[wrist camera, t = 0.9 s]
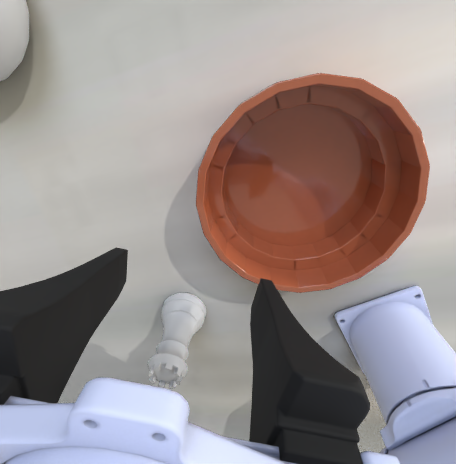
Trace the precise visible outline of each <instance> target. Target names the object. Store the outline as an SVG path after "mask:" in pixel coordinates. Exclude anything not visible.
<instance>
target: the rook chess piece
mask: <svg viewBox="0 0 456 464" xmlns="http://www.w3.org/2000/svg"><path fill="white" fill-rule="evenodd" d="M205 316H206V307H205V305H204V304H203V302H202V301H201V300H200V299H199V298H198V297H196V296H195V295H193V294H190V293H176V294H174V295H171V296H169V297H168V298H167V299H166V300H165V302H164V305H163V309H162V312H161V318H162V323H163V328H164V330H163V335H162V340H161V342H160V343H159V344H158V345H157V347H156V352H157V354H155V355H154V356H152V357H151V358H150V359H149V361H148V364H147V365H148V369H149V371H150V372H149V375H148V376H150V380H149V381H150V382H151V383H152V384H154V383H155V382H156V380H157V381H159V385H158V387H161V388H164V386H165V384H169V389H173V388H175V387H176V384H178V385H179V384H180V382H181V379H182V378H183V377H185V376H186V374H187V372H188V367H187V364H186V362H185V360H186V359H187V358H188V355H189V352H188V346H189V343H190V340H191V338H192V336H193V335H194V334H195V333H196V332H197V331H198V330H199V329H200V328H201V327H202V325H203V322H204V318H205Z"/></svg>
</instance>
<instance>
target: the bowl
mask: <svg viewBox="0 0 456 464" xmlns="http://www.w3.org/2000/svg"><path fill="white" fill-rule="evenodd" d="M429 165H430V164H429V160H428V156H427V152H426V148H425V144H424V140H423V136H422V132H421V130H420V128H419V126H418V125H417V124H416V122H415V121H414V120H413V118H412V117H411V116H410V114H409V113H408V112H407V110H406V109H405V108H404V106H403V105H402V104H401V103H400V101H399V100H398V99H397V98H396V97H394V96H392V95H390V94H388V93H387V92H385V91H383V90H381V89H380V88H378V87H376V86H374V85H373V84H371V83H369V82H367V81H366V80H364V79H361V78H354V77H347V76H339V75H331V74H324V73H317V74H312V75H308V76H303V77H299V78H294V79H290V80H285V81H281V82H277V83H275V84H272V85H270V86H268V87H267V88H265V89H264V90H262V91H260V92H259V93H257V94H255V95H254V96H252V97H250V98H249V99H247V100H245V101H244V102H242V103H241V104H240V105H239V106H238V107H237V108H236V109H235V110H234V112H233V113H232V114H231V115H230V116H229V117H228V119H227V120H226V121H225V122H224V123H223V124H222V126H221V127H220V128H219V129H218V130H217V131H216V133H215V134H214V135H213V137H212V139H211V141H210V143H209V146H208V148H207V151H206V153H205V155H204V158H203V160H202V163H201V165H200V167H199V171H198V181H197V195H196V207H197V210H198V214H199V218H200V222H201V226H202V229H203V233H204V235H205V237H206V238H207V240H208V241H209V243H210V245H211V246H212V248H213V249H214V251H215V252H216V254H217V255H218V257H219V258H220V259H221V260H222V261H223V262H224V263H225V264H227V265H228V266H229V267H230V268H231V269H233V270H234V271H235V272H236V273H238V274H239V275H240V276H241V277H243V278H245V279H247V280H250V281H252V282H254V283H257V284H259V282H260V279H261V278H262V279H267V280H272V282H273V283H274V285H275V287H276V289H277V290H282V291H289V292H297V293H298V292H299V293H301V292H310V291H319V290H328V289H332V288H334V287H337V286H340V285H343V284H345V283H348V282H351V281H353V280H356V279H359V278H361V277H362V276H364V275H365V274H367V273H368V272H370V271H371V270H373V269H374V268H376V267H377V266H379V265H380V264H382V263H383V262H385V261H386V260H387V259H388V258H389V257H390V256H391V255H392V254H393V253H394V252H395V250H396V249H397V248H398V247H399V246H400V245H401V244H402V242H403V241H404V240H405V239H406V238H407V237H408V236H409V235H410V233H411V231H412V229H413V227H414V225H415V223H416V221H417V218H418V216H419V214H420V212H421V210H422V208H423V206H424V204H425V201H426V194H427V185H428V177H429V169H430V166H429Z"/></svg>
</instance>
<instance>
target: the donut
mask: <svg viewBox="0 0 456 464" xmlns="http://www.w3.org/2000/svg"><path fill="white" fill-rule="evenodd" d="M28 42H29V10H28V6H27V2H26V0H0V81H2V80H5V79H7V78H8V77H9V76H10V75H11V73H12V72H13V71H14V70H15V69H16V68H17V67H18V65H19V64H20V63H21V62H22V60H23V57H24V54H25V51H26V48H27V45H28Z"/></svg>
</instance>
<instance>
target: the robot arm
mask: <svg viewBox="0 0 456 464" xmlns="http://www.w3.org/2000/svg"><path fill="white" fill-rule="evenodd" d="M127 254H128V250H125V249H120V248H114V249H112V250H110V251H108V252H106V253H105V254H103V255H101V256H99V257H97V258H95V259H93V260H91V261H89V262H87V263H85V264H83V265H81V266H78V267H76V268H74V269H72V270H69V271H67V272H65V273H62V274H60V275H57V276H54V277H52V278H49V279H46V280H43V281H39V282H36V283H32V284H29V285H25V286H22V287H18V288H13V289H9V290H4V291H0V464H456V353H455V352H454V350H453V349H452V348H451V347H450V345H449V344H448V343H447V342H446V340H445V339H444V338H443V337H442V336H441V334H440V333H439V332H438V331H437V329H436V328H435V327H434V326H433V323H432V320H431V317H430V314H429V311H428V308H427V305H426V301H425V298H424V295H423V292H422V290H421V288H420V287H418V286H412V287H410V288H407V289H404V290H401V291H398V292H395V293H392V294H389V295H386V296H383V297H380V298H377V299H374V300H371V301H368V302H366V303H363V304H360V305H357V306H354V307H351V308H348V309H345V310H342V311H339V312H337V313H336V314H335V319H336V321H337V323H338V325H339V327H340V329H341V331H342V333H343V335H344V337H345V339H346V341H347V343H348V345H349V347H350V349H351V351H352V353H353V355H354V357H355V358H356V360H357V362H358V364H359V366H360V368H361V370H362V372H363V373H364V374H365V375H366V378H367V380H368V382H369V385H370V387H371V389H372V392H373V394H374V396H375V399H376V401H377V404H378V406H379V408H380V411H381V413H382V415H383V418H384V420H385V423H386V426H385V427H384V428H383V429H381V430H380V433H381V436H382V439H383V441H384V444H385V446H386V448H384V449H382V450H381V451H380V453H377V452H372V451H364V452H361V453H360V452H359V449H358V446H357V443H358V442H359V435H358V432H357V428H358V426H359V425H360V424H361V422H362V421H363V420H364V418H365V417H366V416H367V414H368V412H369V410H370V402H369V400H368V397H367V395H366V392H365V389H364V387H363V385H362V383H361V380H360V378H359V377H358V376H356V375H355V374H354V373H352V372H351V371H350V370H348V369H347V368H345V367H344V366H343V365H341V364H340V363H339V362H338V361H336V360H335V359H334V358H333V357H332V356H330V355H329V354H328V353H327V352H326V351H325V350H324V349H323V348H322V347H321V346H320V345H318V344H317V343H316V342H315V341H314V340H313V339H312V337H311V336H310V335H309V334H308V333H307V332H306V331H305V330H304V328H303V327H302V326H301V325H300V324H299V322H298V321H297V320H296V318H295V317H294V316H293V314H292V313H291V311H290V310H289V308H288V307H287V305H286V304H285V302H284V301H283V299H282V297H281V296H280V294H279V292H278V290H277V289H276V287H275V285H274V283H273V282H272V280H267V279H262V278H261V279H260V282H259V285H258V288H257V291H256V294H255V297H254V301H253V304H252V307H251V322H250V326H251V342H252V357H253V388H252V409H251V425H250V439H249V441H245V440H240V439H235V438H229V437H224V436H221V435H218V434H216V433H214V432H211V431H209V430H207V429H204V428H202V427H199V426H197V425H195V424H192V423H190V422H188V416H189V411H190V410H189V404H188V401H187V400H186V399H185V398H184V397H183V396H182V395H181V394H179V393H178V392H175V391H172V390H170V389H166V388H161V387H156V386H151V385H146V384H141V383H136V382H131V381H125V380H120V379H115V378H107V377H98V378H95V379H93V380H91V381H88V382H87V383H86V384H85V386H84V388H83V390H82V392H81V393H80V395H79V397H78V399H77V400H76V402H75V403H58V401H59V398H60V396H61V394H62V392H63V390H64V388H65V386H66V384H67V382H68V380H69V378H70V376H71V374H72V372H73V370H74V368H75V366H76V364H77V362H78V360H79V358H80V356H81V354H82V353H83V351H84V349H85V347H86V345H87V343H88V342H89V340H90V338H91V336H92V335H93V333H94V332H95V330H96V329H97V327H98V326H99V324H100V323H101V321H102V320H103V318H104V317H105V316H106V314H107V313H108V311H109V310H110V308H111V307H112V305H113V304H114V302H115V301H116V300H117V298H118V296H119V294H120V293H121V291H122V289H123V287H124V284H125V282H126V275H127ZM417 294H418V295H417ZM415 295H417V296H415ZM342 319H343V320H342Z"/></svg>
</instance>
